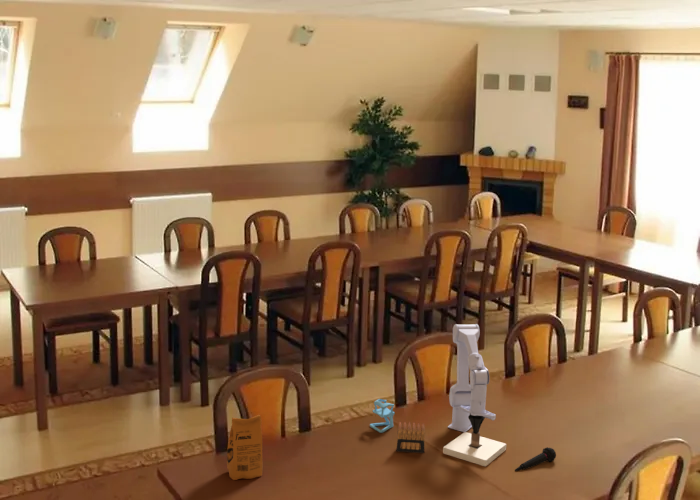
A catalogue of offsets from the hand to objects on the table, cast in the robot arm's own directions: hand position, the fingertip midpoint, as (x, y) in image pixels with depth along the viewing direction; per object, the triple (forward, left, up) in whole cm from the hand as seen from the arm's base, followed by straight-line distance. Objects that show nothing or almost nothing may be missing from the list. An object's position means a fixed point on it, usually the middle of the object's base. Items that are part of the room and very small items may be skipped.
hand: (476, 432), depth 344 cm
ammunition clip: (+15, -20, -8) cm, 26 cm away
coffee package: (+68, -58, -8) cm, 90 cm away
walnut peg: (0, 0, -8) cm, 8 cm away
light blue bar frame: (+3, -40, -8) cm, 41 cm away
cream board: (0, 0, -8) cm, 8 cm away
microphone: (-4, +23, -8) cm, 24 cm away
